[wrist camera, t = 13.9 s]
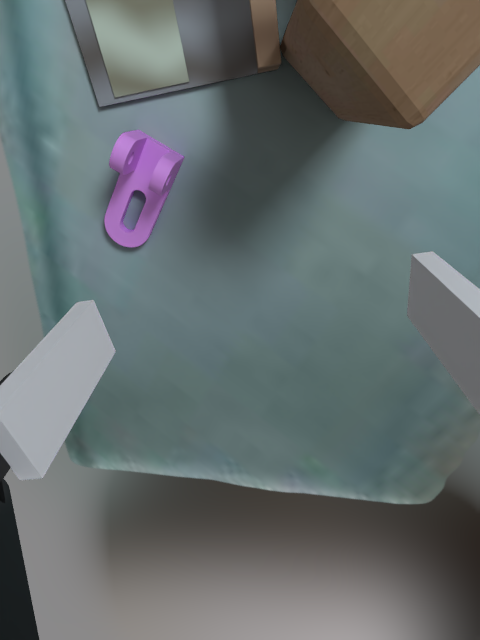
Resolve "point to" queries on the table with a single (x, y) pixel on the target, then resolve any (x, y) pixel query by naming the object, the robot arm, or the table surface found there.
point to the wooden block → (383, 55)
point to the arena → (172, 43)
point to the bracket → (139, 184)
